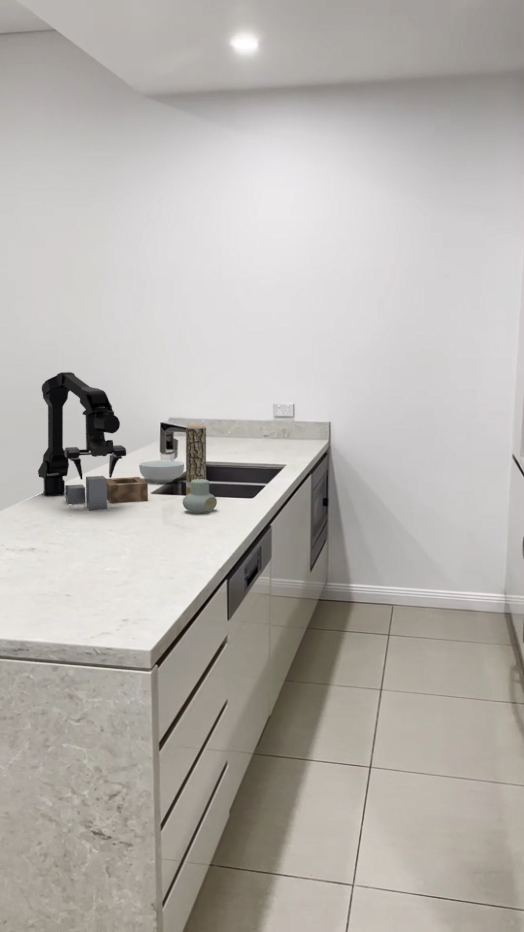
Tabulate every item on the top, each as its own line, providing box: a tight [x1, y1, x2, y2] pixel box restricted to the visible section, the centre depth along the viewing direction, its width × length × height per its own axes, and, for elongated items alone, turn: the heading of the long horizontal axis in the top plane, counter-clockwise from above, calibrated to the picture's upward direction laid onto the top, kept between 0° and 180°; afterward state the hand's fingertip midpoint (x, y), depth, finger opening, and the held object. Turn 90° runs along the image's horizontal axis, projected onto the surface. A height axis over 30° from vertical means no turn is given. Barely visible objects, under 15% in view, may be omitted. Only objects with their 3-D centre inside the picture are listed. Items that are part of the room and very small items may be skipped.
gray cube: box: [64, 483, 86, 505], centre depth 268 cm, size 6×6×6 cm
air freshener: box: [182, 479, 218, 514], centre depth 257 cm, size 11×8×10 cm
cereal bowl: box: [138, 459, 185, 484], centre depth 307 cm, size 17×17×7 cm
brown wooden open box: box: [106, 476, 149, 504], centre depth 275 cm, size 12×12×6 cm
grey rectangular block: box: [85, 475, 108, 512], centre depth 259 cm, size 6×6×10 cm
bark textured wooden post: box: [185, 424, 207, 496], centre depth 276 cm, size 7×7×25 cm
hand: (95, 478), depth 259 cm, fingers open, 9 cm apart
